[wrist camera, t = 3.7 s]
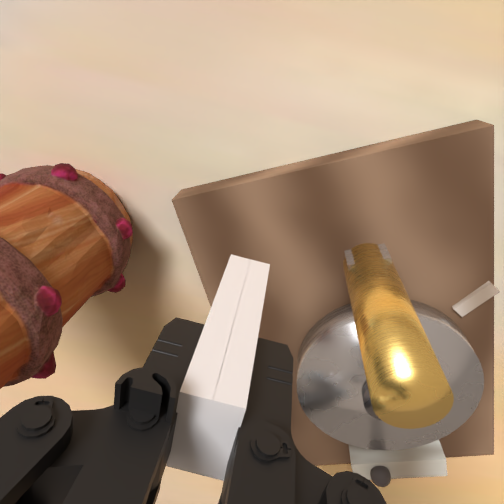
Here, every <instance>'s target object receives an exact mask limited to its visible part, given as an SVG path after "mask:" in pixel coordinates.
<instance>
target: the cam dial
mask: <svg viewBox="0 0 504 504" xmlns="http://www.w3.org/2000/svg"><path fill="white" fill-rule="evenodd" d="M344 252H345V258H344V262H343V268H344V273H345V278H346V283H347V288H348V292H349V297H350V302H351V303H350V304H347V305H344V306H342V307H340V308H338V309H335V310H334V311H332V312H330V313H329V314H327V315H326V316H324V317H323V318H322V319H320V320H319V321H318V322H317V323H316V324H315V325H314V326H313V327H312V328H311V329H310V330H309V332H308V333H307V335H306V336H305V338H304V340H303V341H302V343H301V346H300V349H299V352H298V358H297V394H298V399H299V402H300V405H301V407H302V409H303V411H304V412H305V414H306V416H307V417H308V418H309V419H310V421H311V422H312V423H313V424H314V425H315V426H317V427H318V428H319V429H320V430H322V431H323V432H324V433H326V434H327V435H329V436H331V437H332V438H334V439H337V440H339V441H341V442H343V443H346V444H349V445H352V446H356V447H360V448H366V449H372V450H401V449H409V448H414V447H419V446H422V445H426V444H429V443H431V442H434V441H436V440H439V439H441V438H443V437H445V436H447V435H449V434H450V433H452V432H453V431H455V430H456V429H458V428H459V427H460V426H461V425H462V424H464V423H465V422H466V421H467V420H468V418H469V417H470V416H471V415H472V414H473V412H474V411H475V409H476V408H477V406H478V404H479V402H480V400H481V397H482V393H483V390H484V374H483V369H482V366H481V363H480V361H479V359H478V357H477V355H476V353H475V352H474V350H473V348H472V347H471V345H470V343H469V342H468V340H467V338H466V337H465V335H464V333H463V332H462V330H461V329H460V328H459V327H458V325H457V324H456V323H455V322H454V321H453V320H452V319H451V318H450V317H448V316H447V315H445V314H444V313H443V312H441V311H440V310H438V309H436V308H434V307H432V306H430V305H427V304H424V303H421V302H418V301H414V300H410V299H409V296H408V294H407V292H406V290H405V288H404V285H403V283H402V281H401V279H400V277H399V275H398V272H397V270H396V268H395V266H394V264H393V262H392V259H391V256H390V254H389V252H388V250H387V248H386V245H385V243H383V244H378V245H377V244H374V243H364V244H360V245H357V246H355V247H354V248H352V249H350V250H345V251H344Z"/></svg>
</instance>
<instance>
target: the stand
mask: <svg viewBox="0 0 504 504" xmlns="http://www.w3.org/2000/svg"><path fill="white" fill-rule="evenodd" d="M172 202H173V205H174V208H175V210H176V213H177V216H178V218H179V221H180V224H181V227H182V229H183V232H184V235H185V237H186V240H187V243H188V246H189V248H190V251H191V254H192V256H193V259H194V262H195V265H196V267H197V270H198V273H199V275H200V278H201V281H202V284H203V286H204V289H205V292H206V294H207V297H208V300H209V303H210V305H211V307H212V304H213V301H214V298H215V296H216V293H217V290H218V288H219V285H220V282H221V280H222V277H223V274H224V272H225V269H226V266H227V264H228V261H229V258H230V256H231V254H232V255H236V256H239V257H243V258H247V259H251V260H255V261H259V262H263V263H267V264H270V268H269V274H268V280H267V286H266V292H265V298H264V304H263V310H262V316H261V322H260V328H259V334H258V337H259V338H263V339H267V340H271V341H275V342H278V343H282V344H286V345H288V347H289V350H290V352H291V354H292V356H293V374H292V375H293V383H292V413H291V434H292V439H293V441H294V444H295V446H296V448H297V449H298V451H299V452H300V453H301V455H302V456H303V457H304V458H305V459H306V460H307V461H309V462H310V463H311V464H313V465H314V466H315V465H331V464H348V463H351V467H352V471H353V472H354V473H358V474H360V475H362V476H363V477H365V478H367V479H368V480H372V481H373V482H374V483H375V484H376V485H377V486H380V487H385V486H387V485H388V484H389V483H390V481H391V479H396V478H415V477H434V476H447V464H446V457H462V456H478V455H494V295H496V294H497V293H499V292H500V291H499V290H498V289H497V288H496V287H495V286H494V125H491V124H488V123H485V122H482V121H479V120H474V121H470V122H465V123H461V124H457V125H453V126H448V127H444V128H440V129H436V130H432V131H427V132H423V133H419V134H415V135H411V136H406V137H402V138H398V139H394V140H389V141H385V142H381V143H377V144H373V145H368V146H364V147H360V148H356V149H351V150H347V151H343V152H339V153H335V154H330V155H326V156H322V157H318V158H313V159H309V160H305V161H301V162H297V163H292V164H288V165H284V166H280V167H275V168H271V169H267V170H263V171H259V172H254V173H250V174H246V175H242V176H237V177H233V178H229V179H225V180H221V181H216V182H212V183H208V184H204V185H200V186H195V187H191V188H187V189H183V190H181V191H180V192H179V193H178V194H177V195H176V196H175V197H174V198H173V199H172ZM364 243H374V244H377V245H378V244H383V243H385V245H386V248H387V250H388V252H389V254H390V256H391V259H392V262H393V264H394V266H395V268H396V270H397V272H398V275H399V277H400V279H401V281H402V283H403V285H404V288H405V290H406V292H407V294H408V296H409V299H410V300H414V301H418V302H421V303H424V304H427V305H430V306H432V307H434V308H436V309H438V310H440V311H441V312H443V313H444V314H445V315H447V316H448V317H450V318H451V319H452V320H453V321H454V322H455V323H456V324H457V325H458V327H459V328H460V329H461V330H462V332H463V333H464V335H465V337H466V338H467V340H468V342H469V343H470V345H471V347H472V348H473V350H474V352H475V353H476V355H477V357H478V359H479V361H480V363H481V366H482V369H483V374H484V390H483V393H482V397H481V400H480V402H479V404H478V406H477V408H476V409H475V411H474V412H473V414H472V415H471V416H470V417H469V418H468V420H467V421H466V422H465V423H464V424H462V425H461V426H460V427H459V428H458V429H456V430H455V431H453V432H452V433H450V434H449V435H447V436H445V437H443V438H441V439H439V440H436V441H434V442H431V443H429V444H426V445H422V446H419V447H414V448H409V449H401V450H372V449H366V448H360V447H356V446H352V445H349V444H346V443H343V442H341V441H339V440H337V439H334V438H332V437H331V436H329V435H327V434H326V433H324V432H323V431H322V430H320V429H319V428H318V427H317V426H315V425H314V424H313V423H312V422H311V421H310V419H309V418H308V417H307V416H306V414H305V412H304V411H303V409H302V407H301V405H300V402H299V399H298V394H297V358H298V352H299V349H300V346H301V343H302V341H303V340H304V338H305V336H306V335H307V333H308V332H309V330H310V329H311V328H312V327H313V326H314V325H315V324H316V323H317V322H318V321H319V320H320V319H322V318H323V317H324V316H326V315H327V314H329V313H330V312H332V311H334V310H335V309H338V308H340V307H342V306H344V305H347V304H350V303H351V302H350V297H349V292H348V288H347V283H346V278H345V273H344V268H343V262H344V258H345V252H344V251H345V250H350V249H352V248H354V247H355V246H357V245H360V244H364Z"/></svg>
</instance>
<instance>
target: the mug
mask: <svg viewBox="0 0 504 504" xmlns="http://www.w3.org/2000/svg"><path fill="white" fill-rule="evenodd" d="M132 241H133V231H132V225H131V223H130V217H129V215H128V214H127V212H126V210H125V209H124V207H123V205H122V204H121V202H120V200H119V199H118V198H117V196H116V195H115V193H114V192H113V190H112V189H110V188H109V187H107V186H106V185H105V184H104V183H103V182H101V181H100V180H99V179H97V178H95V177H94V176H92V175H91V174H90V173H87V172H84V171H80V170H76V169H75V168H73V167H72V166H71V165H70V164H63V163H61V164H57V165H55V166H48V165H47V166H38V167H31V168H25V169H22V170H20V171H18V172H16V173H13V174H10V175H7V176H6V175H5V174H0V389H1V388H2V387H4V386H10V385H15V384H17V383H20V382H22V381H24V380H27V379H29V378H31V377H32V378H47V377H49V376H50V375H52V374H53V373H55V369H56V362H55V357H54V352H53V351H54V350H55V348H56V347H57V345H58V342H59V339H60V336H61V333H62V327H63V326H64V325H65V324H66V323H67V322H68V321H69V320H70V318H71V317H72V316H73V315H74V314H75V313H76V312H77V311H78V310H79V309H80V308H81V306H82V305H83V304H84V303H85V302H86V301H87V300H88V299H89V298H90V297H93V296H96V295H98V294H101V293H103V292H105V291H110V292H115V293H116V292H119V291H121V290H122V289H123V288H124V287H125V278H124V276H123V274H122V272H123V270H124V269H125V267H126V265H127V262H128V259H129V256H130V251H131V246H132Z"/></svg>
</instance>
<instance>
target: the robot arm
mask: <svg viewBox="0 0 504 504" xmlns="http://www.w3.org/2000/svg"><path fill="white" fill-rule="evenodd" d="M269 268H270V264H267V263H263V262H259V261H255V260H251V259H247V258H243V257H239V256H236V255H232V254H231V256H230V258H229V261H228V264H227V266H226V269H225V272H224V274H223V277H222V280H221V282H220V285H219V288H218V290H217V293H216V296H215V298H214V301H213V304H212V307H211V309H210V312H209V315H208V317H207V320H206V323H205V325H204V324H200V323H196V322H192V321H188V320H184V319H180V318H175V319H174V320H172V321H171V322H170V323H168V324H167V325H165V326H164V328H163V330H162V332H161V334H160V336H159V337H158V340H157V341H156V343H155V345H154V347H153V349H152V351H151V353H150V355H149V357H148V359H147V360H146V362H145V364H144V366H143V368H137V369H133V370H131V371H129V372H127V373H125V374H123V375H122V376H121V377H120V378H119V380H118V381H117V382H116V383H115V397H114V405H113V406H110V407H107V408H104V409H97V410H80V411H71V409H70V406H69V405H68V404H67V403H66V402H65V401H64V400H62V399H60V398H57V397H53V396H37V397H34V398H31V399H28V400H24V401H23V402H21V403H20V404H18V405H16V406H15V407H13V408H12V409H11V410H9V411H8V412H7V413H6V414H5V415H3V416H2V417H1V418H0V504H155V502H156V499H157V496H158V493H159V490H160V484H161V478H162V475H163V472H164V469H165V466H168V467H172V468H176V469H180V470H184V471H188V472H192V473H196V474H199V475H203V476H207V477H211V478H215V479H219V480H223V481H224V483H223V488H222V493H221V496H220V500H219V503H218V504H386V502H385V500H384V498H383V496H382V494H381V493H380V491H379V490H378V489H377V488H376V487H375V485H374V484H373V483H372V482H371V481H370V480H368V479H367V478H365V477H363V476H362V475H360V474H358V473H354V472H349V471H345V472H340V473H336V474H335V475H334V476H333V477H332V476H331V475H329V474H327V473H326V472H324V471H322V470H321V469H319V468H318V467H316V466H314V465H313V464H311V463H310V462H309V461H307V460H306V459H305V458H304V457H303V456H302V455H301V453H300V452H299V451H298V449H297V448H296V446H295V444H294V441H293V439H292V434H291V413H292V383H293V375H292V374H293V356H292V354H291V352H290V350H289V347H288V345H286V344H282V343H278V342H275V341H271V340H267V339H263V338H259V337H258V334H259V328H260V322H261V316H262V310H263V304H264V298H265V292H266V286H267V280H268V274H269ZM166 464H167V465H166Z"/></svg>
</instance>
